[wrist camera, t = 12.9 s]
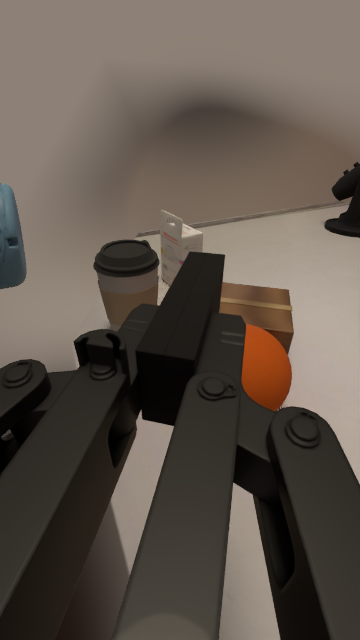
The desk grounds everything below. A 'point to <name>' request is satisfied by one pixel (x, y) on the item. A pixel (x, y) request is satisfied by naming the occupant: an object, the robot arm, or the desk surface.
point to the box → (260, 309)
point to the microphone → (356, 218)
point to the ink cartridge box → (176, 244)
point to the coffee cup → (126, 278)
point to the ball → (265, 368)
